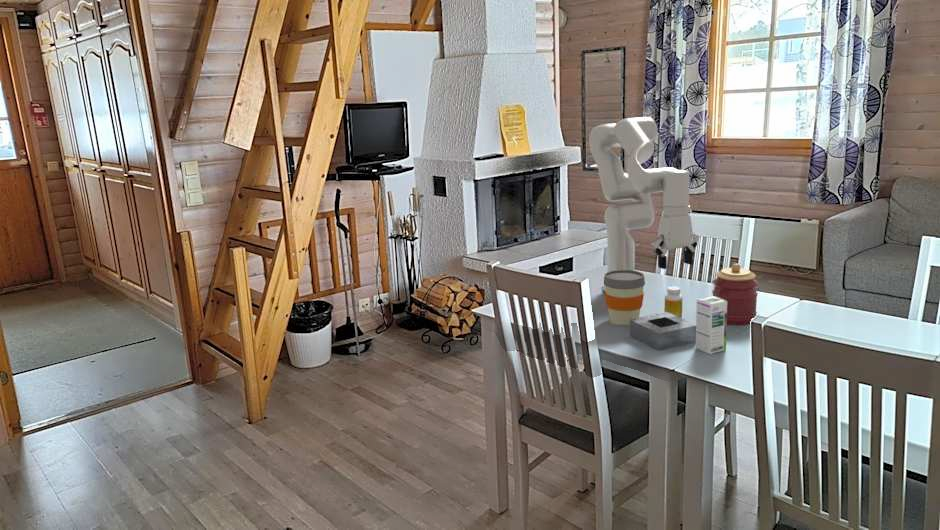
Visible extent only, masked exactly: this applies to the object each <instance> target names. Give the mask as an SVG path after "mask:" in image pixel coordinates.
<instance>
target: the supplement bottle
mask: <svg viewBox="0 0 940 530" xmlns="http://www.w3.org/2000/svg"><path fill="white" fill-rule="evenodd" d="M663 308H664V309H663V313H664V312H669V313H671V314H673V315H675V316H678V317H680V318H682V319H683V295H682V294H681V287H680V286H668V287H666V294H665V295H664V307H663Z"/></svg>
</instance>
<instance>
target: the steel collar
mask: <svg viewBox="0 0 940 530" xmlns="http://www.w3.org/2000/svg"><path fill="white" fill-rule="evenodd" d="M629 336H630V337H632V338H634V339H635V340H638V341H639V342H642V343H643V344H645V345H647V346H649V347H651V348H653V349H655V350H656V351H661V350H665V349H666V350H667V349H671V348H675V347H679V346H684V345H689V344H692V343H696V323H694V322H691V321H689V320H686V319H684V318H683V317H682V318H680V317H678V316H675V315H673V314H671V313H669V312H664V311H663V312H660V313H655V314H650V315H645V316H639V318H635V319H630V325H629Z"/></svg>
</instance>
